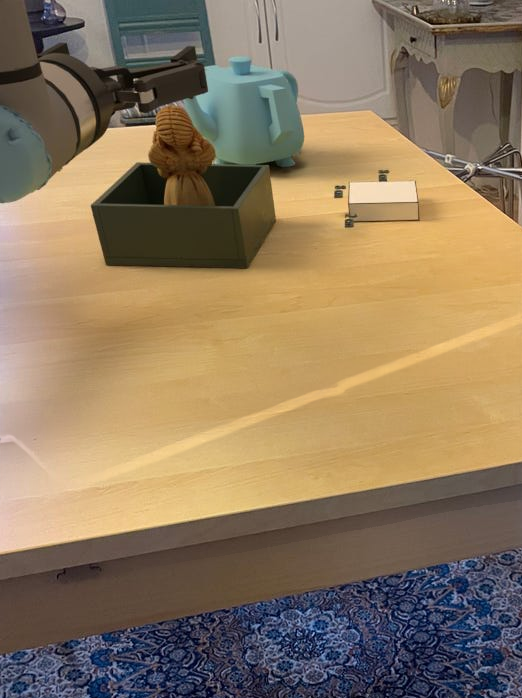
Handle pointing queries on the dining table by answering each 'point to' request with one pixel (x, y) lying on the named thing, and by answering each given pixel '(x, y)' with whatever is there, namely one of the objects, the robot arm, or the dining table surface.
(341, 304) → the dining table surface
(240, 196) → the bin
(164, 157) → the figurine
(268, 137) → the teapot
